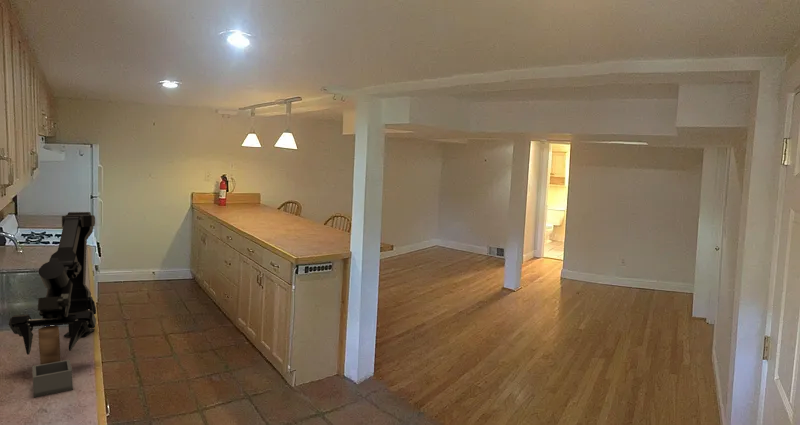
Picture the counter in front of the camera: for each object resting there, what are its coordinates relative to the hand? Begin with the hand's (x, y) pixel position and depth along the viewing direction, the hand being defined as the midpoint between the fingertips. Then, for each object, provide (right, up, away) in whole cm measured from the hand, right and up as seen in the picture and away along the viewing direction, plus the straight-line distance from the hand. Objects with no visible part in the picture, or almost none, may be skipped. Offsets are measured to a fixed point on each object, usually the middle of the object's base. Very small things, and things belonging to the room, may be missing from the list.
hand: (49, 351), depth 135 cm
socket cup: (+4, -8, -4) cm, 10 cm away
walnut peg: (-1, -7, +2) cm, 7 cm away
